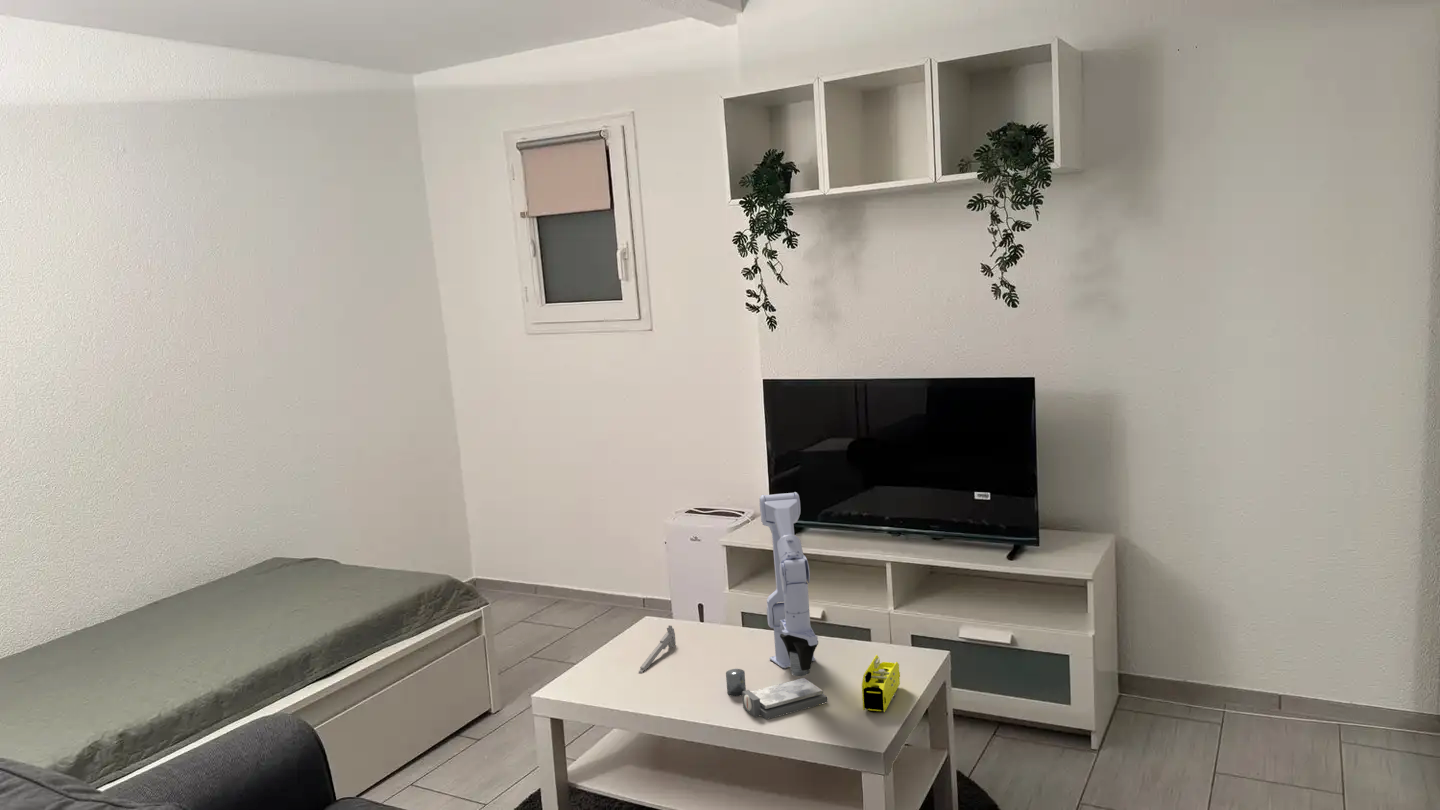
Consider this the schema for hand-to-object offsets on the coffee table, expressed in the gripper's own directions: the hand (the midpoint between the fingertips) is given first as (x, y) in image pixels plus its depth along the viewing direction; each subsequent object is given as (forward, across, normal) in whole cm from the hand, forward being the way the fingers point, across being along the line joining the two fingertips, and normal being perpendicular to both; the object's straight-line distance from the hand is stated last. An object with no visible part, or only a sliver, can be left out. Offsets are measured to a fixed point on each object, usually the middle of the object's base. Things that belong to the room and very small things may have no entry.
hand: (800, 665), depth 244 cm
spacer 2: (+2, 0, 0) cm, 2 cm away
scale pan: (+6, 0, -4) cm, 7 cm away
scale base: (+8, 0, -4) cm, 9 cm away
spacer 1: (+8, -12, -12) cm, 18 cm away
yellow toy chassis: (+8, +11, +15) cm, 20 cm away
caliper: (+8, -44, -20) cm, 49 cm away
